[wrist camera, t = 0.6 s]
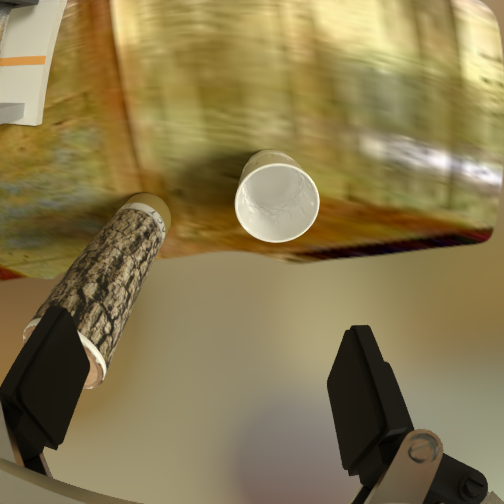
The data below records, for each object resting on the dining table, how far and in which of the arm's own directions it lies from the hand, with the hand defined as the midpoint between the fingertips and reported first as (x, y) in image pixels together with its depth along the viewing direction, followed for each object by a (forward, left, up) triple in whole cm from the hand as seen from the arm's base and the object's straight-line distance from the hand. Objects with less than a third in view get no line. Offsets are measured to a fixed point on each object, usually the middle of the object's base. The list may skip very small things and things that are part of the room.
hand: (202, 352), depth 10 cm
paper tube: (+11, -9, -30) cm, 34 cm away
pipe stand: (-11, -32, -30) cm, 46 cm away
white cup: (+2, +5, -31) cm, 31 cm away
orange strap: (-8, -32, -29) cm, 44 cm away
